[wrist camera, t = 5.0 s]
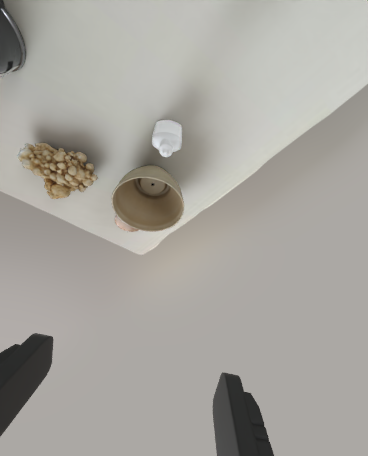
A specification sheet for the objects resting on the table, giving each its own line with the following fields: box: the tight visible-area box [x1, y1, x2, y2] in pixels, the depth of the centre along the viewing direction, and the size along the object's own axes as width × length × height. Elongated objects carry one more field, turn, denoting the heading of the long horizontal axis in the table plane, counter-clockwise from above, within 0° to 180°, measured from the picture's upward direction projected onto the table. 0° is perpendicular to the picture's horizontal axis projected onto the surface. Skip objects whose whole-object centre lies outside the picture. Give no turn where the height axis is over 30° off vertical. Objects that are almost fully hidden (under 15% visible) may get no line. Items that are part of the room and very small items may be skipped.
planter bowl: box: [112, 165, 184, 232], centre depth 46 cm, size 16×16×11 cm
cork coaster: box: [115, 215, 138, 232], centre depth 60 cm, size 9×9×1 cm
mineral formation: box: [17, 143, 98, 199], centre depth 44 cm, size 8×13×15 cm
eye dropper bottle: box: [152, 120, 182, 157], centre depth 36 cm, size 4×6×12 cm
